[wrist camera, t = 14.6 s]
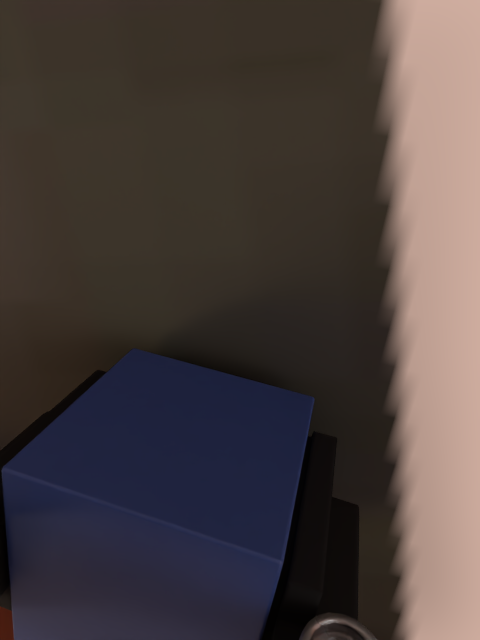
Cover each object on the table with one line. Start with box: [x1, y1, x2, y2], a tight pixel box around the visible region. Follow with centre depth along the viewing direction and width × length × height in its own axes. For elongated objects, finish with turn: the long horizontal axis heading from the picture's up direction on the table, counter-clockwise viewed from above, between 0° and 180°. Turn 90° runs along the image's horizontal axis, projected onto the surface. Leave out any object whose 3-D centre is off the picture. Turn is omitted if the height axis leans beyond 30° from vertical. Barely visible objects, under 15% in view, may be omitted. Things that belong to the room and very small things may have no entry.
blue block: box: [1, 348, 314, 640], centre depth 9 cm, size 4×4×4 cm
